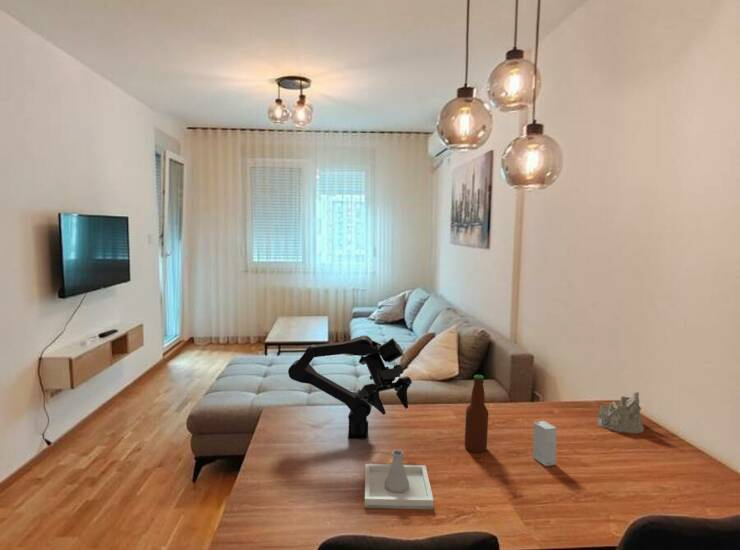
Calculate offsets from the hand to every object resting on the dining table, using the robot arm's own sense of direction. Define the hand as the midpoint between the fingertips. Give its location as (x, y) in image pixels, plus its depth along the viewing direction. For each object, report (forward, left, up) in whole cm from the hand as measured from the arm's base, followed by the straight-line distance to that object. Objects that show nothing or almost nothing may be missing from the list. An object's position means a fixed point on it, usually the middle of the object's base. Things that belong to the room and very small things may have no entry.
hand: (396, 411), depth 153 cm
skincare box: (+47, -5, -14) cm, 50 cm away
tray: (-1, -23, -14) cm, 26 cm away
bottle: (+27, +3, -14) cm, 31 cm away
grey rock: (+88, +26, -14) cm, 93 cm away
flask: (-1, -22, -13) cm, 26 cm away
